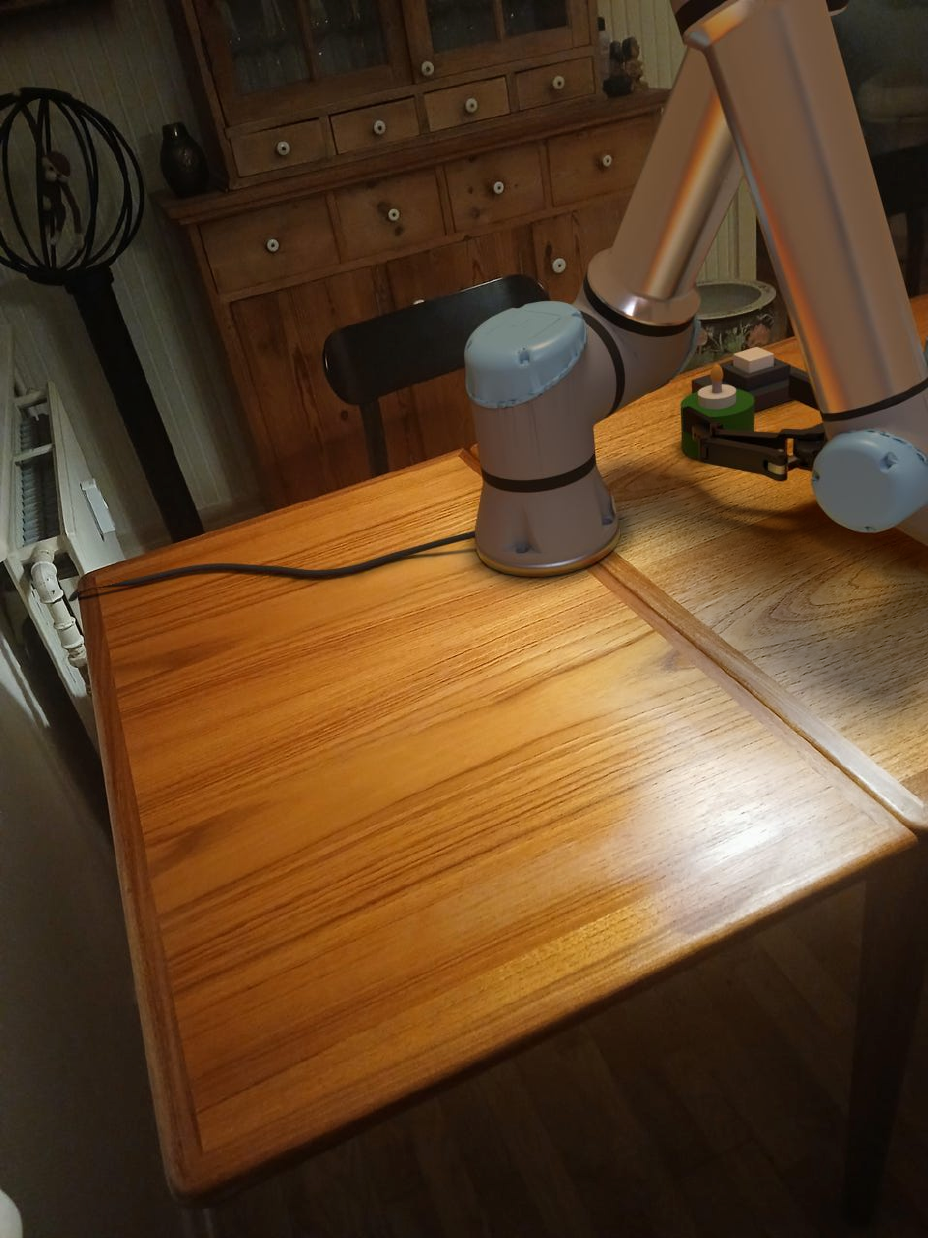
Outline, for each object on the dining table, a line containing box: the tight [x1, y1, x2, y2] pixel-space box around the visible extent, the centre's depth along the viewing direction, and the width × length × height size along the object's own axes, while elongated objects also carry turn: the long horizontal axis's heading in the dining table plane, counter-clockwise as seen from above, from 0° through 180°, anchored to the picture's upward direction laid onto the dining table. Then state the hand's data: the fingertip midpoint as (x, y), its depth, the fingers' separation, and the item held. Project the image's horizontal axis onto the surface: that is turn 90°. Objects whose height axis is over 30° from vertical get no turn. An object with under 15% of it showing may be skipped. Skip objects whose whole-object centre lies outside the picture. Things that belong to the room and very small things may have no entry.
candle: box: [680, 363, 755, 461], centre depth 110 cm, size 8×8×10 cm
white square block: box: [732, 346, 775, 373], centre depth 121 cm, size 4×4×2 cm
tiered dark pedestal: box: [691, 357, 808, 413], centre depth 122 cm, size 12×10×4 cm
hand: (739, 401), depth 105 cm, fingers open, 13 cm apart
